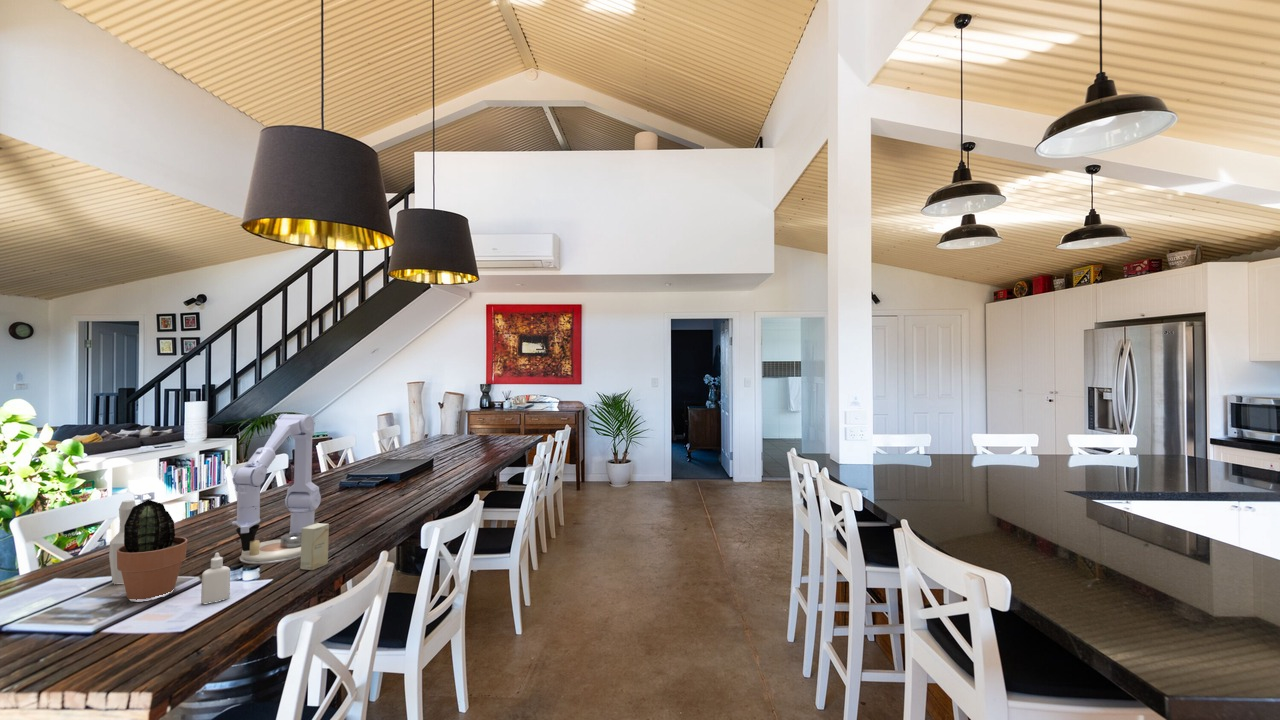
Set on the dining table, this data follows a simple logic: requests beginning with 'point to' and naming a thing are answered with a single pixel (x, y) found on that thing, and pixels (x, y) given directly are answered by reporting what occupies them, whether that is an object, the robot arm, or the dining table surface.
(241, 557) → the turntable base
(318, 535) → the skincare box
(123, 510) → the faceted bottle
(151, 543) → the potted plant
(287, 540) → the cover
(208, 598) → the eye dropper bottle
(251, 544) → the disc
